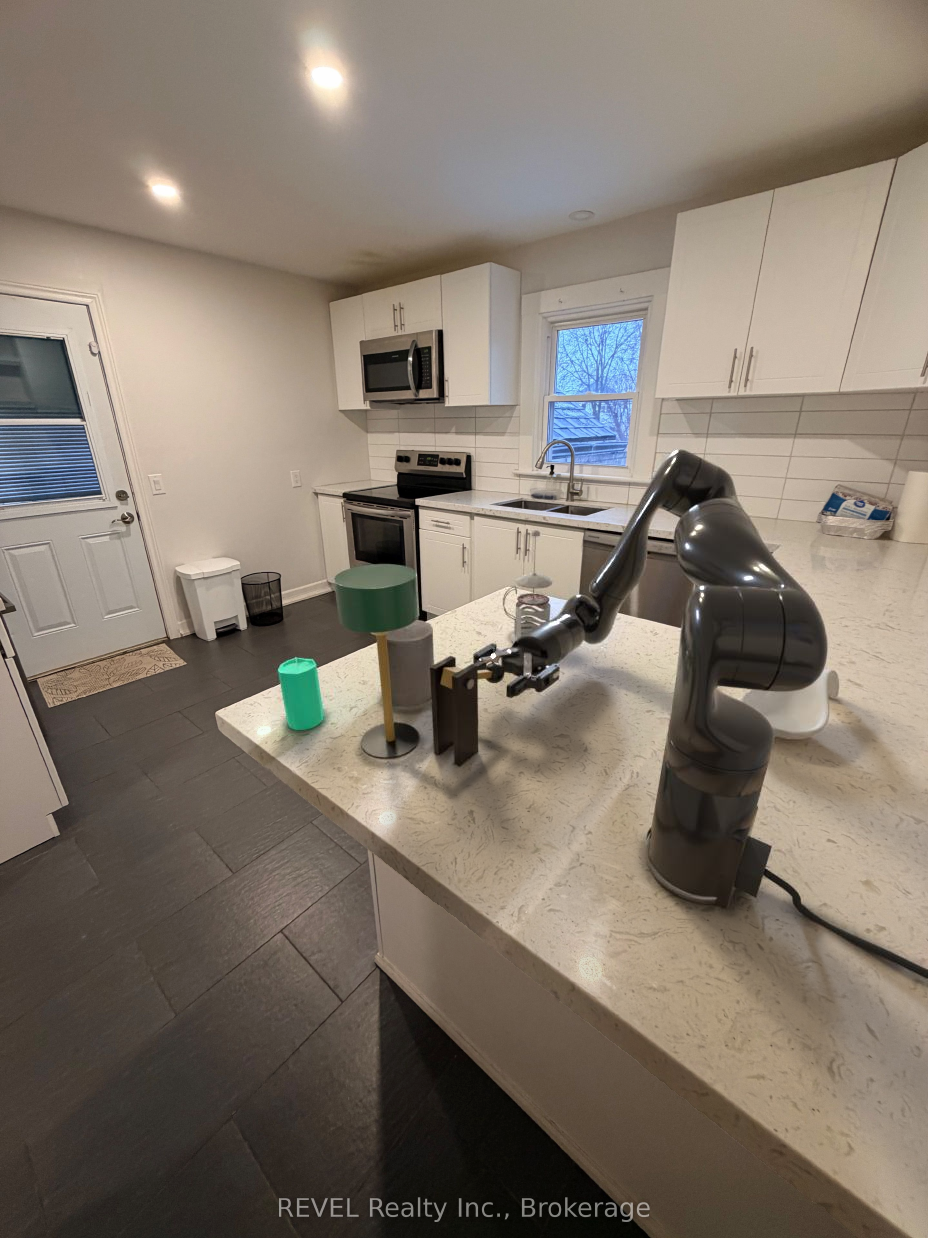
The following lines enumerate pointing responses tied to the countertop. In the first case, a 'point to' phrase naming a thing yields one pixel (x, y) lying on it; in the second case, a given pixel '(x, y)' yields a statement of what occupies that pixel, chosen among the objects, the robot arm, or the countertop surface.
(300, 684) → the candle
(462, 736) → the switch bracket
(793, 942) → the countertop surface
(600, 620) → the robot arm
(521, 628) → the french press
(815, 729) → the spoon rest
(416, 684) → the pillar candle
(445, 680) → the switch lever
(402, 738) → the desk lamp
